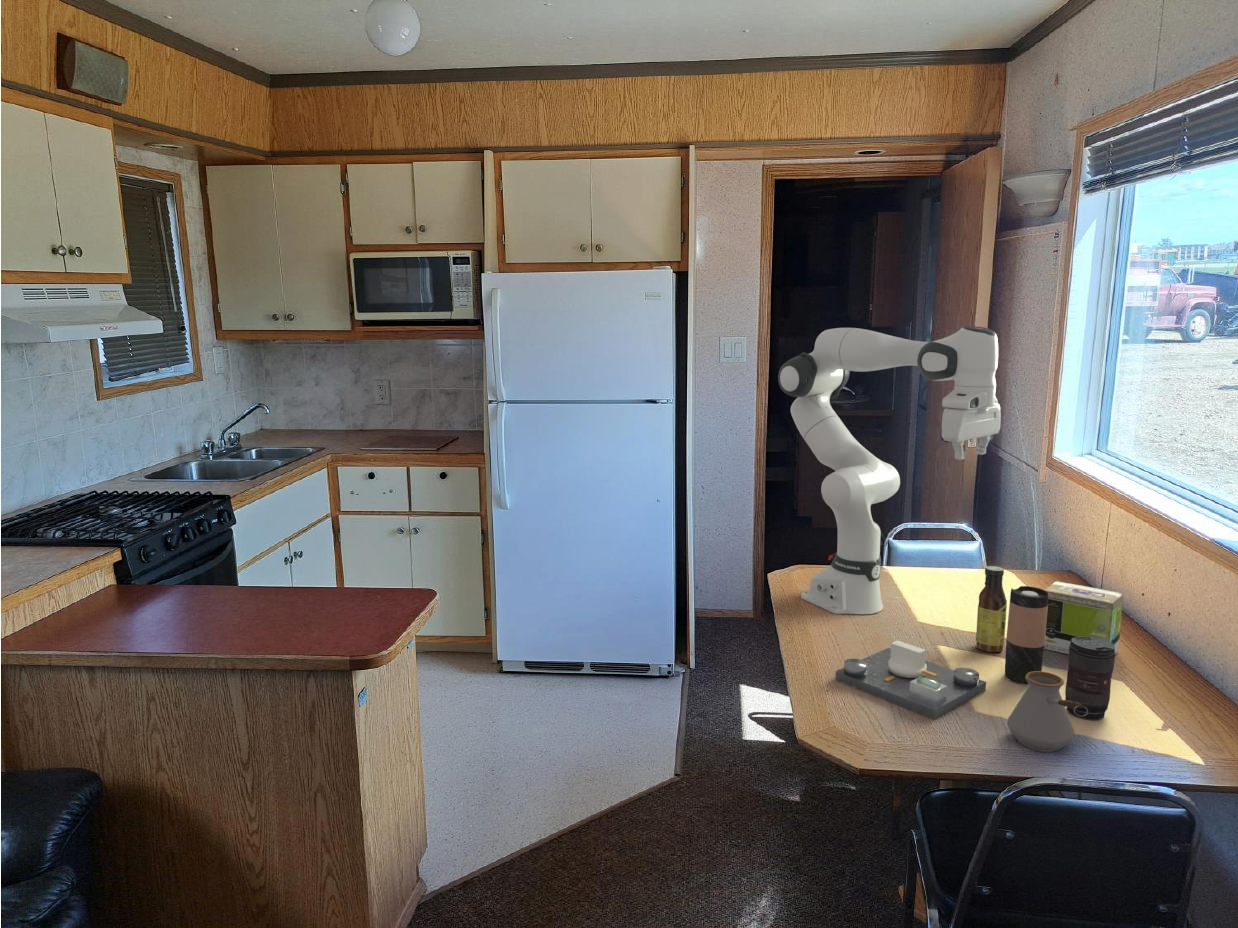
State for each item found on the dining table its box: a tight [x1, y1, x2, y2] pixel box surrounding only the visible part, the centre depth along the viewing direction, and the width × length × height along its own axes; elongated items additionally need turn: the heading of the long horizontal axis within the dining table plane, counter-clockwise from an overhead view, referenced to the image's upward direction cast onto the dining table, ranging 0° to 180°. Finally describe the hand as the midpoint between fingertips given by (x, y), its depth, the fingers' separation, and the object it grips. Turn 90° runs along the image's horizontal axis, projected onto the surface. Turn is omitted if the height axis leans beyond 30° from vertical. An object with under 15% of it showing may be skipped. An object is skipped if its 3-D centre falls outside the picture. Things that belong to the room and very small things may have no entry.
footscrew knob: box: [888, 640, 937, 678], centre depth 190 cm, size 11×8×6 cm
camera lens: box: [1064, 636, 1116, 721], centre depth 175 cm, size 8×8×15 cm
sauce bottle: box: [975, 565, 1008, 653], centre depth 206 cm, size 6×6×20 cm
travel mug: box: [1004, 585, 1049, 686], centre depth 190 cm, size 8×8×20 cm
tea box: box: [1044, 580, 1124, 655], centre depth 205 cm, size 15×10×15 cm
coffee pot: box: [1006, 671, 1088, 753], centre depth 159 cm, size 21×12×15 cm, turn 175°
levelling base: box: [834, 647, 987, 720], centre depth 188 cm, size 24×20×6 cm
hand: (970, 456), depth 203 cm, fingers open, 8 cm apart
